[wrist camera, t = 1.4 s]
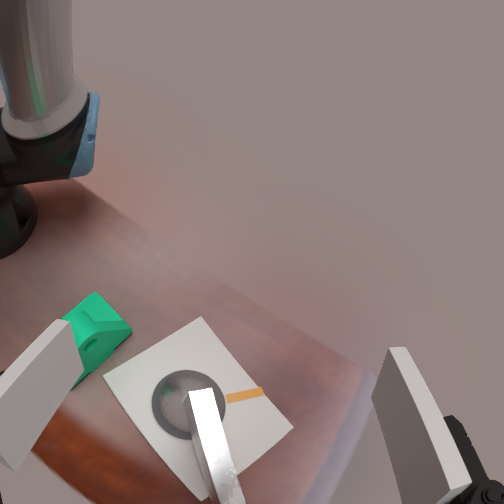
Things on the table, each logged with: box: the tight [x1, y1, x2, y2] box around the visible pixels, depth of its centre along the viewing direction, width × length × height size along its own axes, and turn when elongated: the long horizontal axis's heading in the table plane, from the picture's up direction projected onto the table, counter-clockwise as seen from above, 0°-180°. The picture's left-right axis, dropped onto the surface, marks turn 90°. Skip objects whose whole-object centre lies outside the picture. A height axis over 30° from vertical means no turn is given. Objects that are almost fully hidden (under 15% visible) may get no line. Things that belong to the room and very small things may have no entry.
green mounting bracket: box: [61, 293, 132, 389], centre depth 32 cm, size 12×8×10 cm, turn 143°
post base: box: [103, 317, 294, 501], centre depth 35 cm, size 20×16×3 cm
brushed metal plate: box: [160, 371, 246, 504], centre depth 25 cm, size 20×7×12 cm, turn 16°
